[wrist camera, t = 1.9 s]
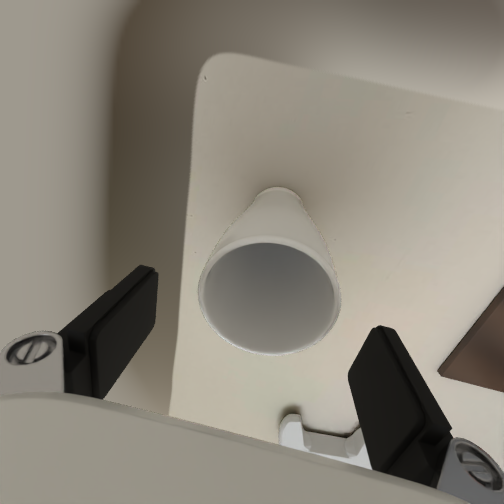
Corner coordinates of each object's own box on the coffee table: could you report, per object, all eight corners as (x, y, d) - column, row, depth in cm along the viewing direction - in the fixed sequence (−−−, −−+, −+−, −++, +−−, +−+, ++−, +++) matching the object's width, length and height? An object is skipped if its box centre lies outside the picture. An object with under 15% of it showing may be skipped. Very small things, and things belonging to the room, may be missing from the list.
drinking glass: (323, 189, 24) (372, 263, 10) (298, 252, 26) (310, 373, 13) (253, 168, 24) (209, 213, 10) (236, 233, 26) (184, 336, 13)
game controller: (393, 441, 32) (378, 499, 35) (380, 413, 37) (367, 466, 39) (281, 423, 34) (273, 480, 36) (281, 397, 38) (274, 450, 40)
